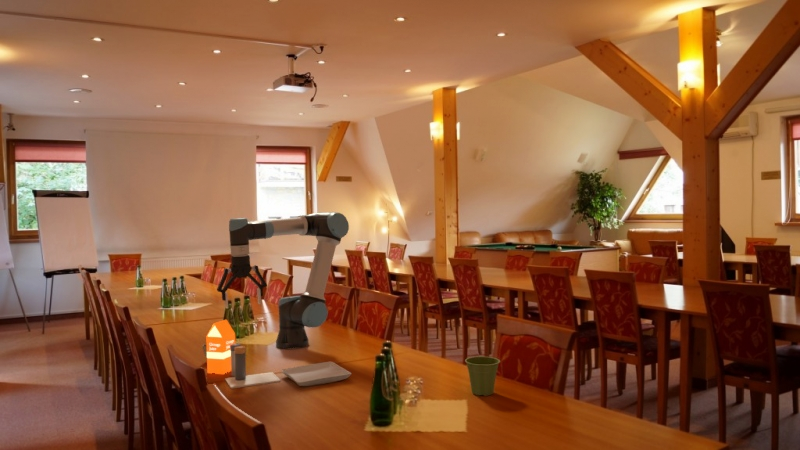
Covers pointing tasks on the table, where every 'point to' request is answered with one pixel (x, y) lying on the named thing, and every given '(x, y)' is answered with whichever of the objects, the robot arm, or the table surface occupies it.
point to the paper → (253, 380)
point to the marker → (240, 363)
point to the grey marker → (233, 358)
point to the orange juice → (219, 347)
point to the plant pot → (482, 374)
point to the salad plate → (316, 373)
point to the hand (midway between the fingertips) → (243, 306)
